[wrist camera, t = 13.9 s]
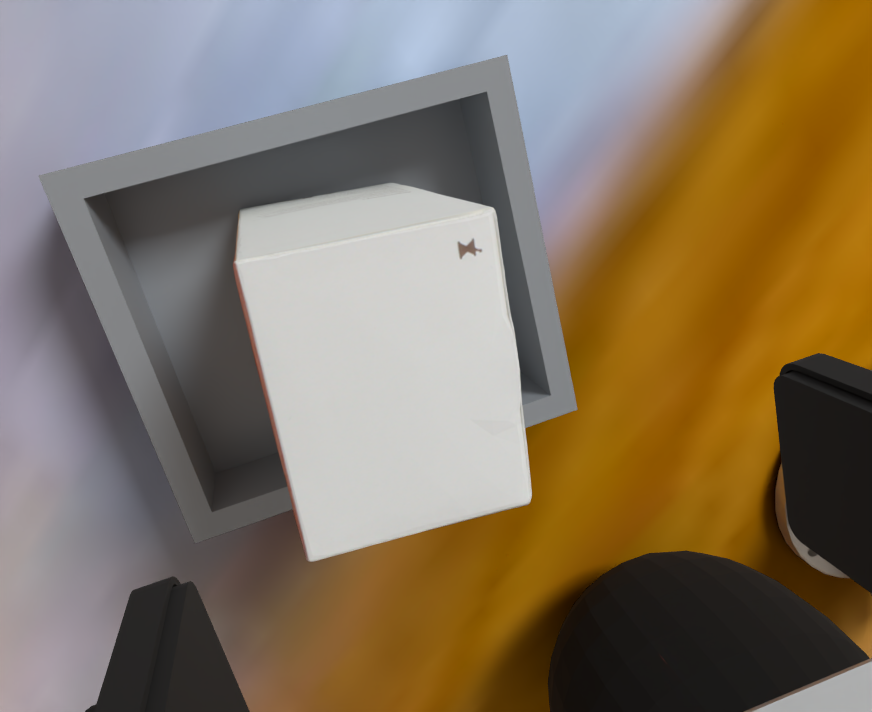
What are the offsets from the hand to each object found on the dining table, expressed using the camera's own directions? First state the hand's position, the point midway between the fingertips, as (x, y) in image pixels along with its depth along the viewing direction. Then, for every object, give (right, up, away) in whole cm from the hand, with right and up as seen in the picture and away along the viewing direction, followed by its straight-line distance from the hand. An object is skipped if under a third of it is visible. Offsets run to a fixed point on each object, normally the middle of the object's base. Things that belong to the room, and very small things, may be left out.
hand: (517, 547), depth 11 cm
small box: (-5, +6, +19) cm, 20 cm away
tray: (-6, +6, +20) cm, 21 cm away
